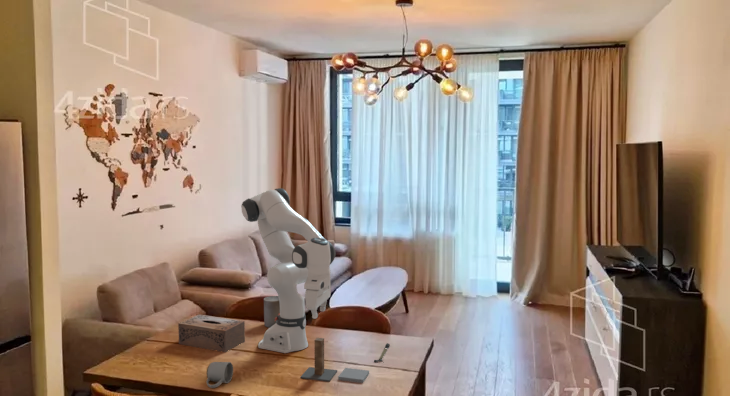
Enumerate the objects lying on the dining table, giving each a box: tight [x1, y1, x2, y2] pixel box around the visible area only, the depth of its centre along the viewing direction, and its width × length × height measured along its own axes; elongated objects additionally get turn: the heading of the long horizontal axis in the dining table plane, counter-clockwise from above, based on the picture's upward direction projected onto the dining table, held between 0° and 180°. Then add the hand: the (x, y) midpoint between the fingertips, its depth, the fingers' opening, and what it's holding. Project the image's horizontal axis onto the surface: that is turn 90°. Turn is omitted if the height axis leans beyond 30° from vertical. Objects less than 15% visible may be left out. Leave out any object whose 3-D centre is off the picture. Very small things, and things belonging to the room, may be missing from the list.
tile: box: [337, 367, 370, 384], centre depth 224 cm, size 10×2×9 cm
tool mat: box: [300, 366, 338, 383], centre depth 226 cm, size 12×10×1 cm
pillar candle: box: [263, 295, 280, 329], centre depth 286 cm, size 10×10×15 cm
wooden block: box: [314, 337, 325, 375], centre depth 225 cm, size 3×3×14 cm
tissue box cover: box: [177, 314, 246, 353], centre depth 260 cm, size 26×14×10 cm, turn 67°
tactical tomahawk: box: [373, 342, 391, 363], centre depth 249 cm, size 21×7×1 cm, turn 165°
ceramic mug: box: [206, 361, 234, 389], centre depth 218 cm, size 11×8×8 cm
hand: (318, 314), depth 224 cm, fingers open, 8 cm apart
